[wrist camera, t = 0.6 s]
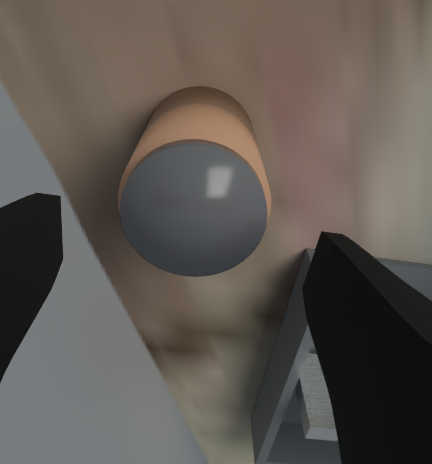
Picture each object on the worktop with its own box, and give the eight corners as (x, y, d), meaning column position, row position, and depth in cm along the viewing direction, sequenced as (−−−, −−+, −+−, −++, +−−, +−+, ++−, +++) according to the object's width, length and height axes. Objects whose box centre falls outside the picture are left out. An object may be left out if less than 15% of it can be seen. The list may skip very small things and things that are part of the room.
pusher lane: (494, 273, 23) (536, 316, 20) (393, 430, 30) (412, 479, 27) (306, 248, 22) (320, 289, 19) (250, 417, 30) (254, 465, 27)
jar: (264, 96, 18) (291, 154, 12) (242, 197, 20) (255, 289, 14) (151, 77, 17) (115, 127, 11) (143, 182, 20) (111, 271, 14)
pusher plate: (433, 363, 25) (483, 450, 21) (422, 380, 26) (469, 467, 22) (295, 348, 25) (314, 434, 20) (288, 365, 26) (305, 452, 21)
